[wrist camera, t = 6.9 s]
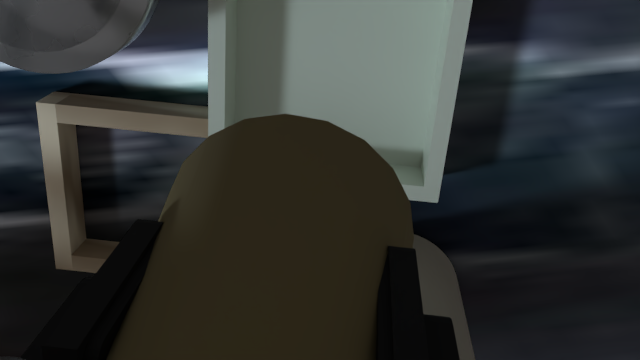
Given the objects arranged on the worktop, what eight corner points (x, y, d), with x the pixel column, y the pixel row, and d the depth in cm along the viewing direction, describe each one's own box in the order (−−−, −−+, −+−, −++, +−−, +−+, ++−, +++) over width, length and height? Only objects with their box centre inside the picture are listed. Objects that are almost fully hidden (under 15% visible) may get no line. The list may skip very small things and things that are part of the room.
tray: (432, 177, 33) (437, 202, 30) (222, 156, 34) (208, 179, 31) (469, -49, 28) (480, -44, 26) (224, -70, 29) (208, -68, 26)
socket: (234, 268, 37) (226, 287, 35) (71, 250, 37) (55, 268, 35) (237, 109, 33) (229, 121, 31) (54, 91, 33) (35, 102, 31)
